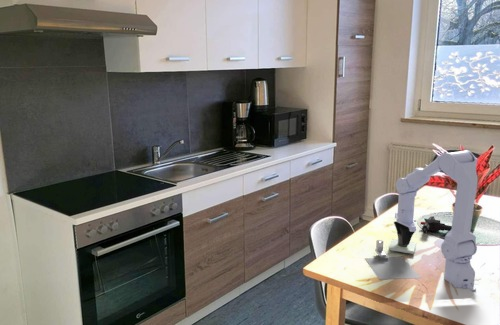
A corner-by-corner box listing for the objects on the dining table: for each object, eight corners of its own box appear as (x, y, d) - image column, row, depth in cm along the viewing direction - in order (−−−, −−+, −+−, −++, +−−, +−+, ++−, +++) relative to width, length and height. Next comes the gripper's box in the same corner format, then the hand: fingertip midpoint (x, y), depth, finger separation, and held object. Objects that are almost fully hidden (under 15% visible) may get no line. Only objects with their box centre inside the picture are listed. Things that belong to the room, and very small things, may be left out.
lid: (413, 253, 162) (414, 241, 161) (388, 249, 166) (389, 237, 165) (416, 244, 170) (417, 232, 169) (392, 241, 174) (392, 229, 173)
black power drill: (461, 218, 192) (425, 212, 200) (456, 228, 176) (417, 221, 183) (460, 229, 193) (424, 223, 200) (455, 241, 176) (416, 234, 184)
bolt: (386, 257, 159) (387, 245, 158) (379, 257, 159) (380, 246, 158) (381, 250, 164) (381, 239, 163) (374, 251, 164) (375, 239, 163)
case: (420, 281, 147) (421, 274, 146) (379, 283, 146) (379, 276, 145) (401, 260, 162) (401, 254, 162) (364, 262, 162) (364, 255, 161)
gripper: (425, 214, 157) (422, 249, 161) (408, 202, 172) (406, 234, 175) (405, 215, 157) (403, 250, 160) (390, 202, 171) (388, 235, 174)
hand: (403, 242), depth 167 cm, fingers closed on lid, 4 cm apart
